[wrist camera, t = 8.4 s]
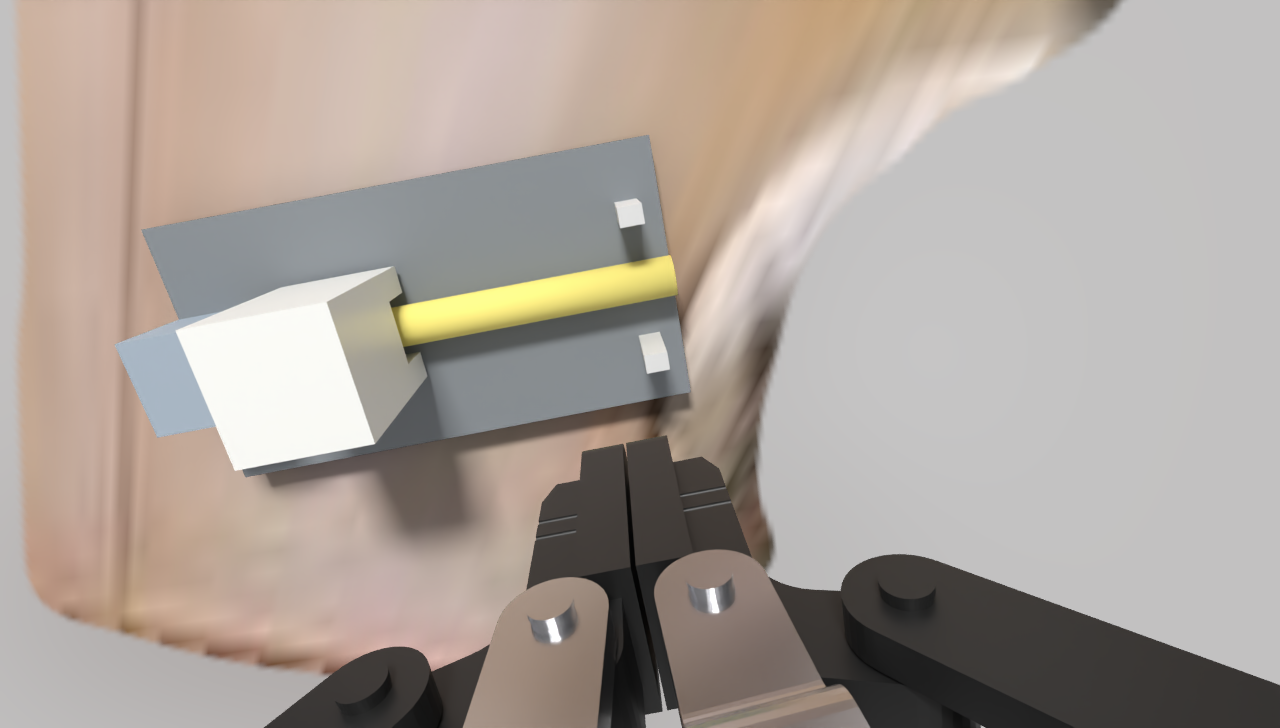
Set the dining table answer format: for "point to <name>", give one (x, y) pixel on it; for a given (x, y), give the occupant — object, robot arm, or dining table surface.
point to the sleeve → (304, 368)
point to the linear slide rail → (453, 290)
